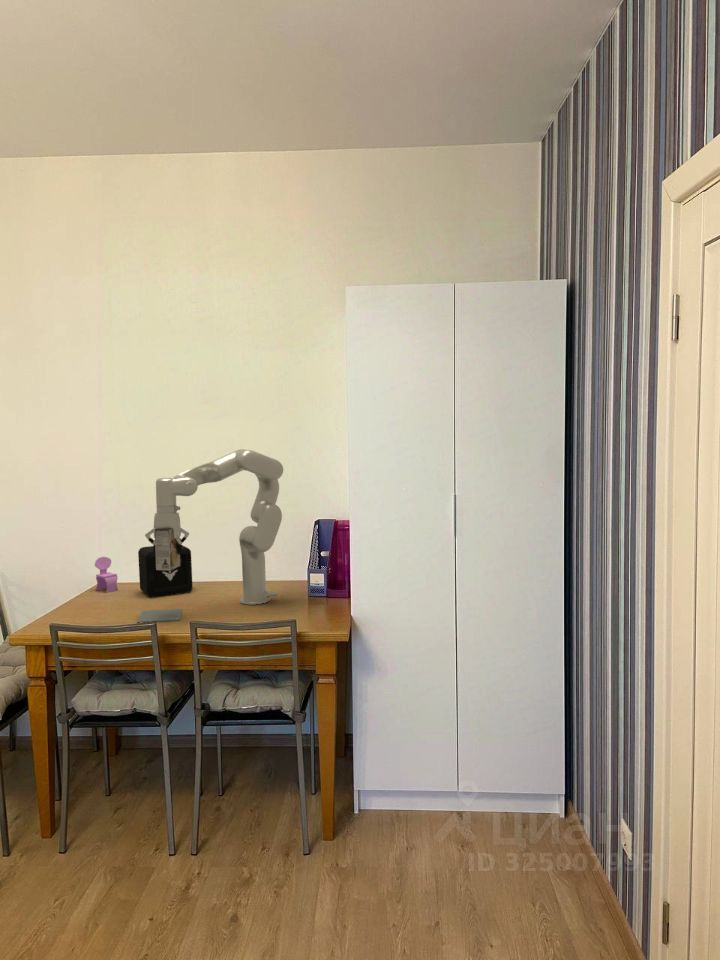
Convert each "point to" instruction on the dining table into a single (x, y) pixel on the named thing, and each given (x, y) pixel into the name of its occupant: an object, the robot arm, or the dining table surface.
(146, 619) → the slate mat
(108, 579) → the toy chair
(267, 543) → the robot arm
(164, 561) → the coffee box
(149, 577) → the black rounded block
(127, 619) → the dining table surface
